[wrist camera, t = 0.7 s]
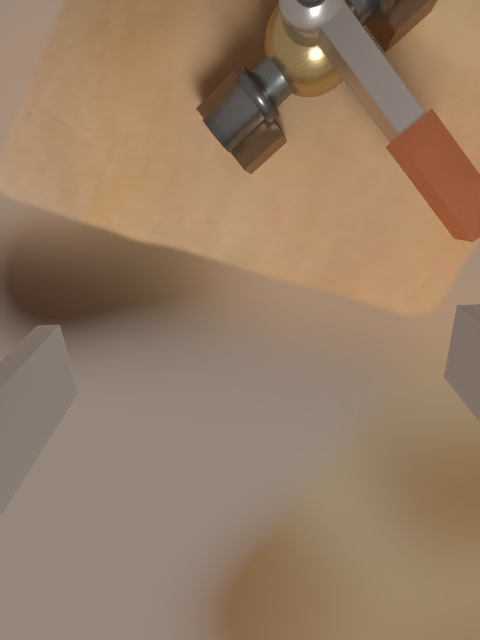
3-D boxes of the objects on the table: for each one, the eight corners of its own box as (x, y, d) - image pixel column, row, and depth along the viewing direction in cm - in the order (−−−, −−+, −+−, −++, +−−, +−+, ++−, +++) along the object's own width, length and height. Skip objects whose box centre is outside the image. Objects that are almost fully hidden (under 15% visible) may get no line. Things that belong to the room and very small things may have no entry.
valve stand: (380, -59, 31) (411, -177, 22) (432, 15, 32) (484, -69, 22) (205, 116, 36) (168, 83, 27) (253, 176, 37) (233, 164, 27)
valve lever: (269, 12, 25) (262, -22, 21) (317, -38, 24) (319, -83, 20) (444, 245, 26) (465, 250, 23) (496, 207, 25) (527, 207, 22)
